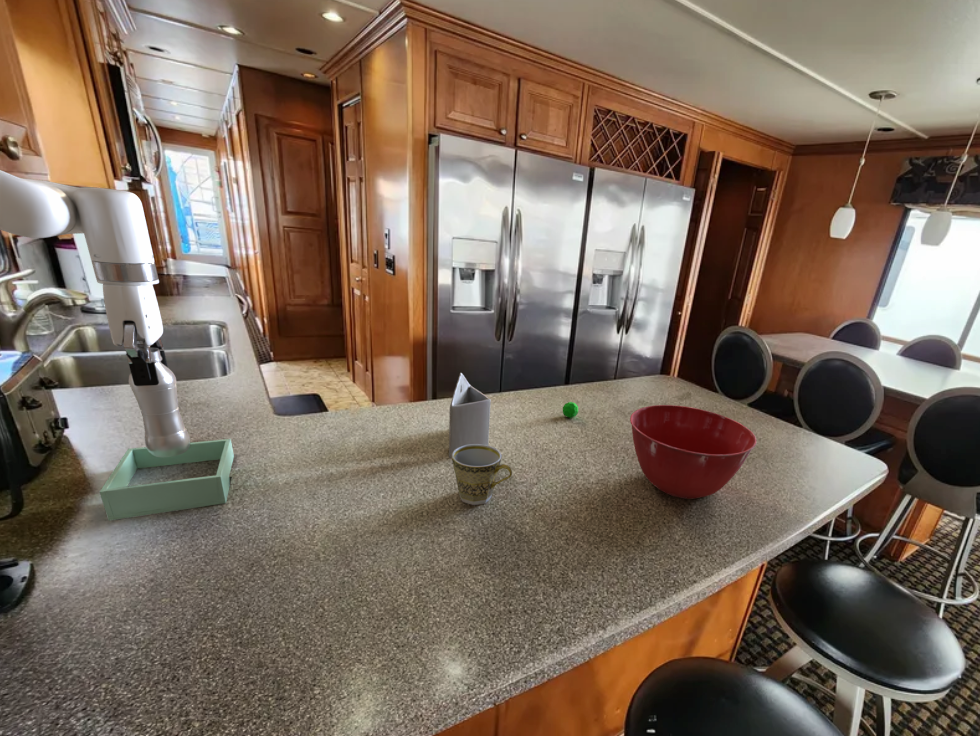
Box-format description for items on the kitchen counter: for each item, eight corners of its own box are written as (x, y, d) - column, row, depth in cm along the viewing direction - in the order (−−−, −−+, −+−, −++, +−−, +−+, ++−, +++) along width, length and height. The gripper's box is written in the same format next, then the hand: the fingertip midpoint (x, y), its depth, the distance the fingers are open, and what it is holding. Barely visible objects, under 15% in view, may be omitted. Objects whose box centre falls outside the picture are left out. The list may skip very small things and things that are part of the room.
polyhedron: (562, 413, 146) (564, 399, 144) (578, 415, 146) (579, 401, 144) (560, 418, 142) (562, 404, 140) (576, 421, 141) (578, 406, 139)
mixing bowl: (597, 477, 110) (606, 419, 104) (659, 446, 130) (669, 396, 124) (705, 535, 93) (723, 468, 87) (757, 489, 113) (775, 432, 107)
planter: (480, 462, 111) (483, 387, 104) (448, 458, 111) (449, 382, 104) (495, 435, 126) (498, 367, 119) (466, 431, 126) (468, 363, 119)
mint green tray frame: (108, 520, 78) (99, 491, 76) (135, 474, 92) (128, 448, 90) (226, 503, 86) (220, 476, 84) (235, 462, 100) (230, 438, 97)
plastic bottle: (157, 465, 82) (129, 358, 74) (141, 453, 85) (113, 349, 77) (199, 453, 87) (177, 351, 80) (183, 442, 90) (160, 343, 83)
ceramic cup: (441, 501, 94) (442, 458, 90) (466, 479, 103) (468, 439, 99) (498, 519, 90) (501, 475, 86) (519, 495, 99) (522, 454, 95)
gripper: (112, 265, 79) (138, 365, 86) (74, 279, 65) (108, 397, 72) (168, 268, 82) (188, 363, 89) (142, 281, 69) (168, 393, 75)
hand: (152, 377), depth 80 cm, fingers closed on plastic bottle, 6 cm apart
